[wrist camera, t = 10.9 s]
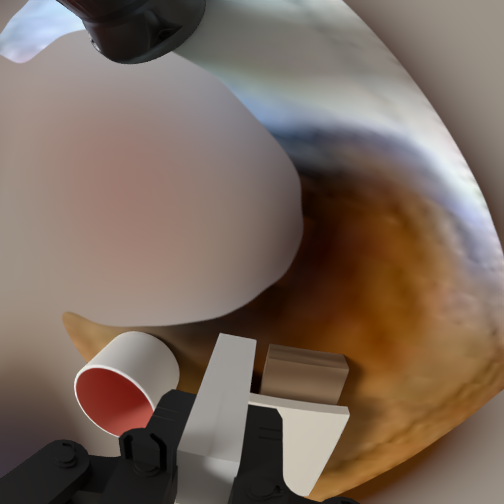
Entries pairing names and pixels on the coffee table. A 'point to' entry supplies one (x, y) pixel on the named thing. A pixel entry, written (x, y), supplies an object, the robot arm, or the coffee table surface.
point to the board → (303, 375)
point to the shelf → (305, 438)
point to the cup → (126, 382)
